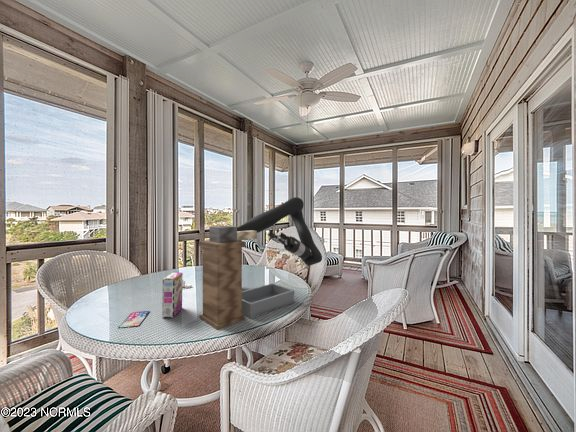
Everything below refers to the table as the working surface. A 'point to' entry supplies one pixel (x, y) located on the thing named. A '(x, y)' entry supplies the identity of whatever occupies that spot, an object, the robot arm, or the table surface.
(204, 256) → the walnut stand
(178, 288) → the candy bar box
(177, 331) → the table surface
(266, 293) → the charcoal tray
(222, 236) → the mallet
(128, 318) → the smartphone
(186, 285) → the teacup and saucer
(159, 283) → the table surface
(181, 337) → the table surface
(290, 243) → the robot arm
